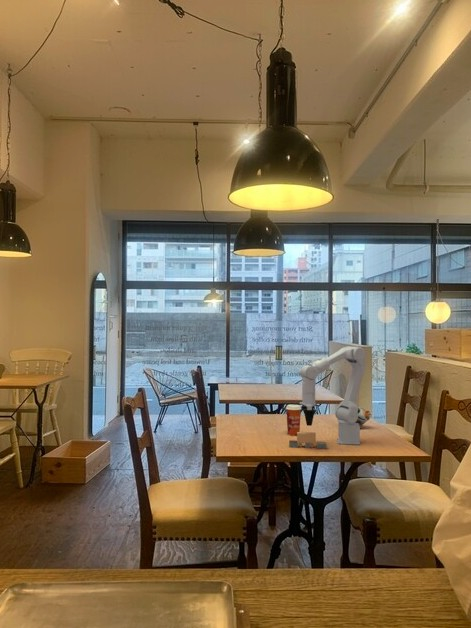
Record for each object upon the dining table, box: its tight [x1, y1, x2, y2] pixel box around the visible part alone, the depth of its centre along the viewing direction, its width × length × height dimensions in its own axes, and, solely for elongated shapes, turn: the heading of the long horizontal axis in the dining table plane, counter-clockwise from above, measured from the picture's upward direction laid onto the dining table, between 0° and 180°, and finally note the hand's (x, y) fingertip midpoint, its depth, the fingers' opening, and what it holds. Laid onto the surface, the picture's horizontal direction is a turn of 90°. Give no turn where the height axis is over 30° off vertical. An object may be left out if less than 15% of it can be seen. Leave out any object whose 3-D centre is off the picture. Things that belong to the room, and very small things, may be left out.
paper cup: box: [285, 404, 303, 437], centre depth 213 cm, size 8×8×14 cm
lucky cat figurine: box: [348, 406, 372, 428], centre depth 229 cm, size 15×12×14 cm
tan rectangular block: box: [296, 431, 317, 448], centre depth 190 cm, size 8×3×6 cm, turn 82°
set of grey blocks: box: [288, 439, 327, 450], centre depth 190 cm, size 16×4×2 cm, turn 82°
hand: (308, 423), depth 192 cm, fingers open, 7 cm apart
